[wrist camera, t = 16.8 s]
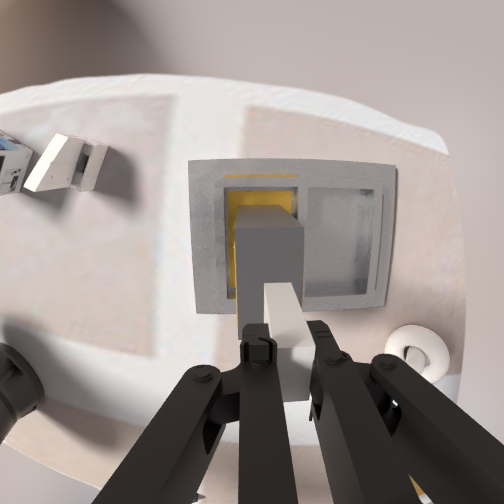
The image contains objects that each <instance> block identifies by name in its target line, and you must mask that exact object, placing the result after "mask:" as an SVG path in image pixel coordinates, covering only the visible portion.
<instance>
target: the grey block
mask: <svg viewBox="0 0 504 504" xmlns="http://www.w3.org/2000/svg"><path fill="white" fill-rule="evenodd" d="M304 228H305V227H304V226H303V225H302V224H301V223H300V222H299V221H297V220H296V219H295V218H294V217H293V216H292V215H291V214H290V213H289V212H287V211H286V210H285V209H284V208H283V207H282V206H281V205H239V209H238V213H237V218H236V223H235V228H234V230H235V241H234V253H235V282H236V308H237V327H238V340H242V329H243V328H244V326H245V325H246V324H254V323H264V283H291V284H292V286H293V289H294V291H295V294H296V296H297V299H298V302H299V304H300V307H301V309H302V300H303V278H304V248H305V242H304Z"/></svg>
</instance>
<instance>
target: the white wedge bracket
mask: <svg viewBox="0 0 504 504" xmlns="http://www.w3.org/2000/svg"><path fill="white" fill-rule="evenodd" d="M107 149H108V146H107V145H104V144H102V143H99V142H96V141H93V140H90V139H88V138H83V137H77V136H71V135H65V134H59V133H57V134H56V135H55V137H54V138H53V140H52V141H51V142H50V144H49V145H48V147H47V148H46V150H45V151H44V153H43V154H42V156H41V158H40V159H39V161H38V162H37V164H36V166H35V167H34V169H33V170H32V172H31V174H30V176H29V177H28V179H27V181H26V182H25V184H24V186H23V187H25V188H27V189H29V190H31V191H33V192H38V191H45V190H51V189H59V188H66V187H71V188H73V189H75V190H78V191H80V192H85V191H91V190H94V187H95V184H96V181H97V177H98V174H99V171H100V169H101V166H102V163H103V160H104V157H105V154H106V152H107ZM87 156H89V159H88V162H87V165H86V168H85V171H83V168H84V165H85V162H86V159H87Z"/></svg>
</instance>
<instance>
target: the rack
mask: <svg viewBox="0 0 504 504" xmlns="http://www.w3.org/2000/svg"><path fill="white" fill-rule="evenodd" d="M188 174H189V206H190V228H191V246H192V262H193V276H194V289H195V301H196V312H197V314H236V313H237V308H236V282H235V253H234V241H235V230H234V228H235V223H236V218H237V213H238V209H239V205H281V206H282V207H283V208H284V209H285V210H286V211H287V212H289V213H290V214H291V215H292V216H293V217H294V218H295V219H296V220H297V221H299V222H300V223H301V224H302V225H303V226H304V227H305V228H304V242H305V248H304V278H303V300H302V312H306V311H325V310H342V309H356V308H369V307H381V306H384V302H385V295H386V289H387V281H388V274H389V266H390V257H391V247H392V236H393V223H394V206H395V177H396V165H388V164H377V163H366V162H352V161H336V160H315V159H213V160H192V161H188Z"/></svg>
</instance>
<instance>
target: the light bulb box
mask: <svg viewBox="0 0 504 504" xmlns="http://www.w3.org/2000/svg"><path fill="white" fill-rule="evenodd" d="M32 153H33V150H31V149H30V148H28V147H26V146H25V145H23V144H21V143H20V142H18V141H17V140H15V139H13V138H12V137H10V136H9V135H7V134H5V133H4V132H2V131H0V196H1V195H6V194H12V193H18V192H20V189H21V185H22V182H23V179H24V176H25V173H26V170H27V167H28V164H29V161H30V158H31V156H32Z"/></svg>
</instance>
